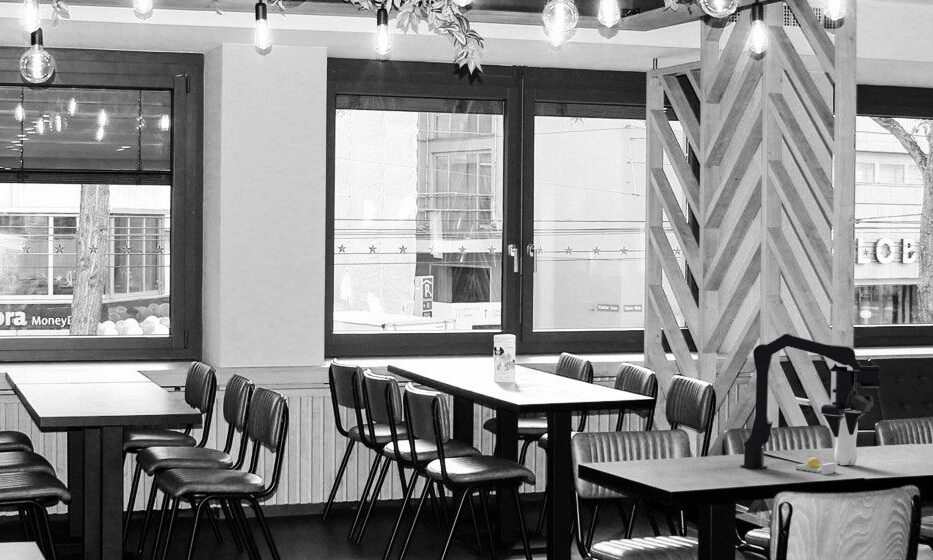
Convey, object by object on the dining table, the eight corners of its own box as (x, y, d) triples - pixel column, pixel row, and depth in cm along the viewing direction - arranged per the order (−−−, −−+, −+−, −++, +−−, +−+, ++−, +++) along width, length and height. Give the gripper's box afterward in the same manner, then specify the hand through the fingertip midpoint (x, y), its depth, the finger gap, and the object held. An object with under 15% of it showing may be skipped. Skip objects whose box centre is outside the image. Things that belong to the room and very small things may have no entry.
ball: (819, 472, 373) (821, 466, 370) (806, 471, 374) (808, 466, 370) (818, 460, 375) (820, 455, 372) (805, 460, 376) (807, 454, 372)
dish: (816, 472, 369) (817, 468, 369) (795, 469, 375) (795, 465, 375) (829, 470, 374) (829, 466, 374) (808, 467, 380) (808, 463, 380)
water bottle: (858, 467, 383) (860, 390, 383) (835, 466, 384) (837, 389, 384) (855, 463, 390) (857, 388, 390) (833, 462, 391) (835, 387, 391)
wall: (824, 474, 366) (824, 465, 366) (821, 474, 367) (821, 464, 367) (835, 472, 371) (835, 463, 371) (832, 472, 372) (833, 462, 372)
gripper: (853, 390, 356) (852, 441, 356) (883, 387, 368) (882, 436, 369) (820, 386, 364) (819, 437, 364) (850, 384, 377) (849, 432, 377)
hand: (843, 435), depth 368 cm, fingers open, 9 cm apart
